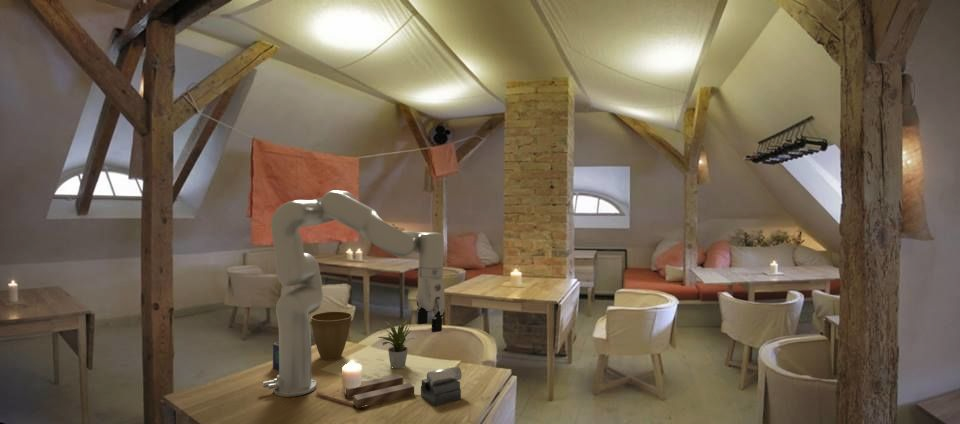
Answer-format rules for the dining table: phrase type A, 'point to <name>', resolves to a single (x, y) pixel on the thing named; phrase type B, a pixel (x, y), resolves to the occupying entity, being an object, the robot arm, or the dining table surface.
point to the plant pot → (331, 333)
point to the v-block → (441, 392)
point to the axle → (443, 375)
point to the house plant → (397, 346)
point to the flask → (276, 356)
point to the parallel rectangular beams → (380, 391)
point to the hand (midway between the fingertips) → (429, 327)
